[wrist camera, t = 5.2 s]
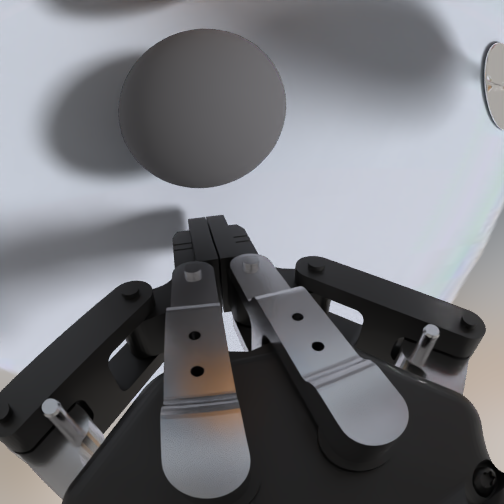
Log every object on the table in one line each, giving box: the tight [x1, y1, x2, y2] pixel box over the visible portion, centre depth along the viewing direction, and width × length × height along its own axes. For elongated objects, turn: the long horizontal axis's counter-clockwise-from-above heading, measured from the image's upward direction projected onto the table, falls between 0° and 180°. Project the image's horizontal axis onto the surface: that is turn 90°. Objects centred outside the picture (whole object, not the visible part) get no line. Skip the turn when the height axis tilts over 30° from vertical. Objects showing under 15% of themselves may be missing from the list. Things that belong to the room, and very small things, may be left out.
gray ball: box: [119, 29, 286, 188], centre depth 9 cm, size 6×6×6 cm
